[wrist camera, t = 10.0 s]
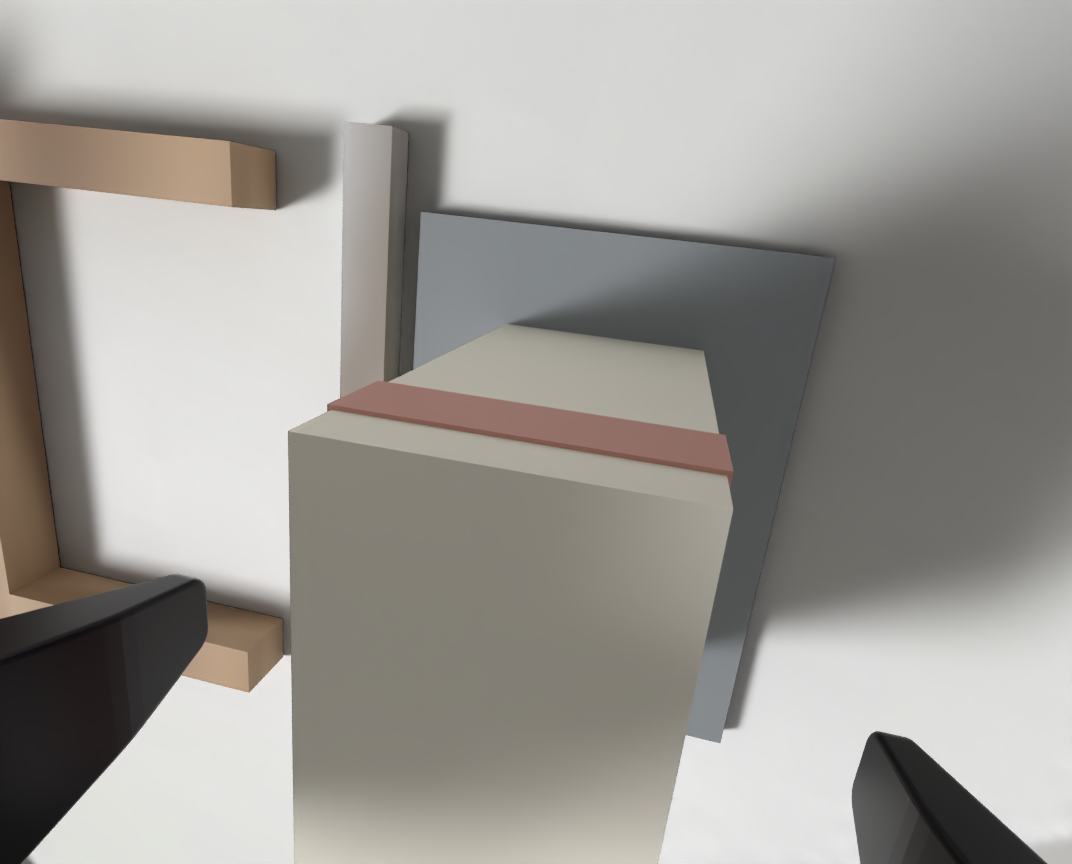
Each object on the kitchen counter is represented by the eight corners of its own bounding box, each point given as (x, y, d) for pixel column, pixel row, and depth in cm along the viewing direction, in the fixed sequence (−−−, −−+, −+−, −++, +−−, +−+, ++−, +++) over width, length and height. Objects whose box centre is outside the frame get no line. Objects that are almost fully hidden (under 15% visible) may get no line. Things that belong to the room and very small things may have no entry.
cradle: (408, 132, 13) (300, 90, 9) (384, 700, 18) (304, 826, 14) (-224, 75, 16) (-500, 25, 12) (-111, 577, 20) (-291, 653, 17)
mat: (831, 256, 12) (835, 257, 12) (719, 731, 16) (720, 743, 15) (427, 212, 14) (420, 211, 13) (404, 657, 17) (398, 666, 17)
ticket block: (706, 348, 13) (740, 504, 5) (650, 654, 15) (618, 1073, 7) (504, 321, 14) (282, 424, 6) (478, 617, 16) (291, 965, 8)
